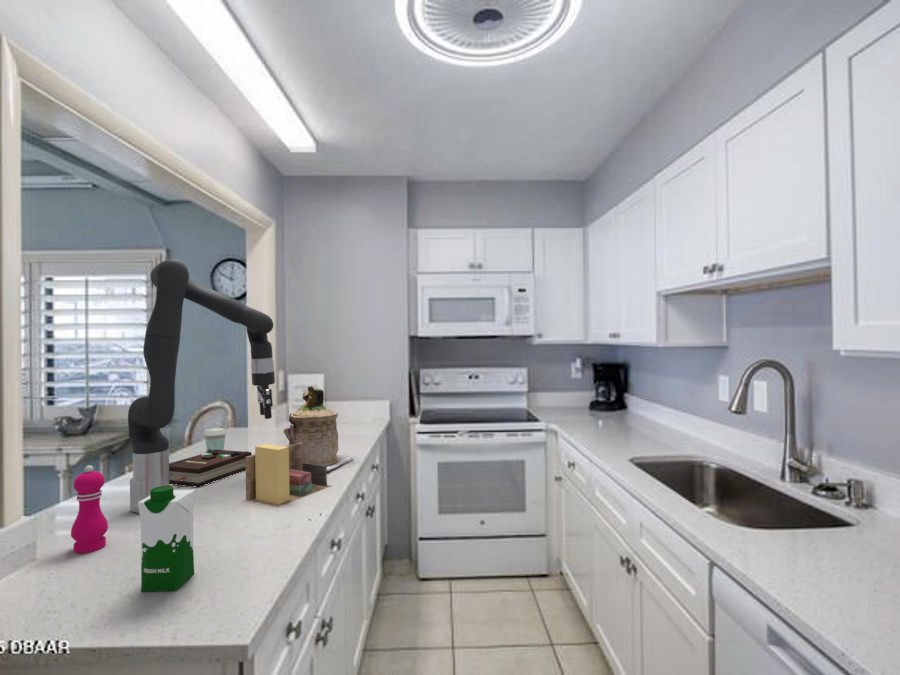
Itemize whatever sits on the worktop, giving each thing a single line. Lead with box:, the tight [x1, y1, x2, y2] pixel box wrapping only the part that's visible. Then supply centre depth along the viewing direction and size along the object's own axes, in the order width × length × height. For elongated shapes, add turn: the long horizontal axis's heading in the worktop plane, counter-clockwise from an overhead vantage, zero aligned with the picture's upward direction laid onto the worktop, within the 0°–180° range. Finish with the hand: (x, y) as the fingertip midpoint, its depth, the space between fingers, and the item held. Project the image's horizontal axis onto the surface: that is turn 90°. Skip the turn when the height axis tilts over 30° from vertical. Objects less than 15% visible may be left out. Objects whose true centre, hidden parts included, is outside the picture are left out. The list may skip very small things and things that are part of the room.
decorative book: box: [169, 448, 253, 488], centre depth 178 cm, size 19×8×30 cm
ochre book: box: [254, 443, 290, 504], centre depth 145 cm, size 4×10×16 cm, turn 61°
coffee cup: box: [203, 427, 227, 452], centre depth 206 cm, size 8×8×12 cm
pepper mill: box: [70, 464, 109, 554], centre depth 116 cm, size 7×7×20 cm
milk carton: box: [138, 485, 196, 593], centre depth 99 cm, size 9×9×20 cm
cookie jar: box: [283, 385, 354, 472], centre depth 191 cm, size 25×25×32 cm
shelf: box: [245, 443, 331, 508], centre depth 152 cm, size 22×14×14 cm, turn 151°
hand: (265, 416), depth 170 cm, fingers open, 8 cm apart
